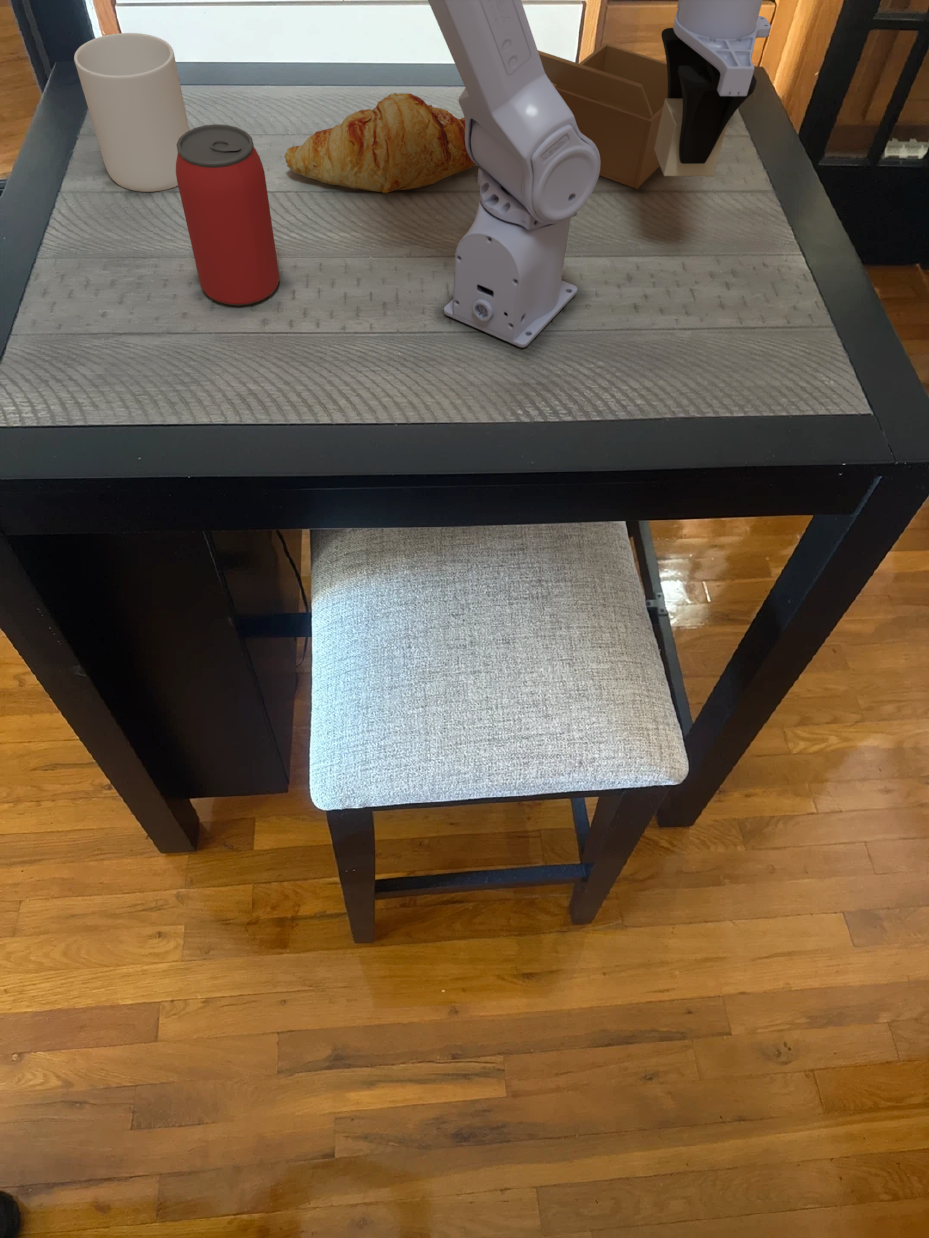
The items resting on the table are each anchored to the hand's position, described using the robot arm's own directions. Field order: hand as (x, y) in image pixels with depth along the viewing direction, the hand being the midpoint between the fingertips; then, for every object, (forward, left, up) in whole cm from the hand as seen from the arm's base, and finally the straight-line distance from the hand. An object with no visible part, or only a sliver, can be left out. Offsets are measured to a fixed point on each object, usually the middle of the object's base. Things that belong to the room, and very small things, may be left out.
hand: (686, 146), depth 73 cm
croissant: (-3, +27, -10) cm, 29 cm away
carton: (+14, +12, -10) cm, 20 cm away
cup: (-16, +47, -10) cm, 51 cm away
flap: (+6, +12, 0) cm, 13 cm away
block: (0, 0, -1) cm, 1 cm away
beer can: (-26, +27, -10) cm, 39 cm away
